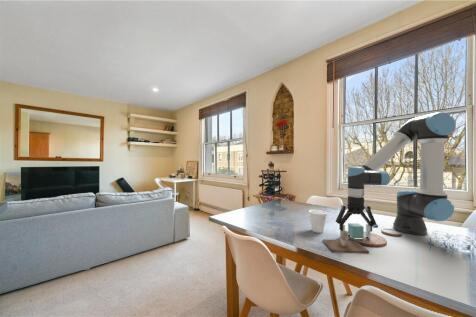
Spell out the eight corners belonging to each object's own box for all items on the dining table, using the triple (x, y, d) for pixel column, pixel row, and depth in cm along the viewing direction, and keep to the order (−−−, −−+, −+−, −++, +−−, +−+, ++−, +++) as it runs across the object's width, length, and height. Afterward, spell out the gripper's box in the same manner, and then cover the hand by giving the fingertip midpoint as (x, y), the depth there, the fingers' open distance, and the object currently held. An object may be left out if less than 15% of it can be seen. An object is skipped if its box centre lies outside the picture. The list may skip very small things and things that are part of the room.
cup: (329, 235, 110) (329, 214, 110) (309, 233, 112) (309, 213, 112) (324, 228, 119) (325, 210, 119) (307, 227, 121) (307, 209, 121)
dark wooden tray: (355, 242, 100) (355, 227, 100) (369, 253, 89) (369, 237, 89) (322, 240, 102) (322, 227, 102) (331, 251, 90) (331, 236, 90)
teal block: (358, 235, 109) (358, 223, 109) (363, 239, 103) (363, 226, 103) (348, 235, 109) (348, 223, 109) (352, 239, 104) (352, 226, 104)
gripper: (375, 195, 109) (375, 235, 109) (329, 194, 111) (329, 233, 111) (384, 198, 102) (384, 240, 102) (334, 197, 103) (334, 239, 103)
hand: (355, 237), depth 106 cm, fingers open, 12 cm apart
